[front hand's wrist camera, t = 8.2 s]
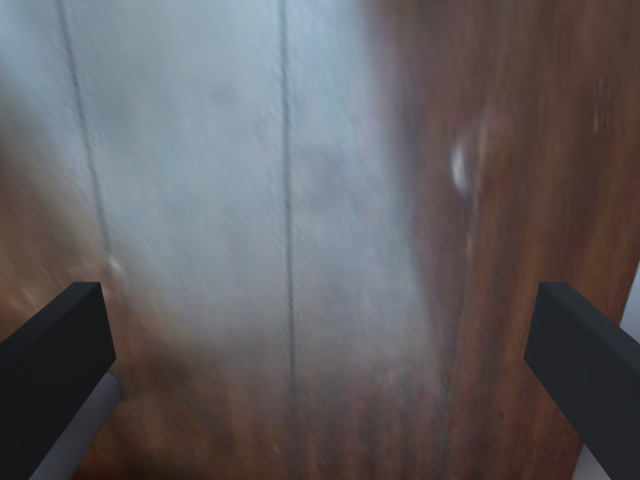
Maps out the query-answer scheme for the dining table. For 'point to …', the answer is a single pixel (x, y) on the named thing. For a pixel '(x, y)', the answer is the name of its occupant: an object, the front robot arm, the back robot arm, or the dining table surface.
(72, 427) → the bottle
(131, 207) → the dining table surface
